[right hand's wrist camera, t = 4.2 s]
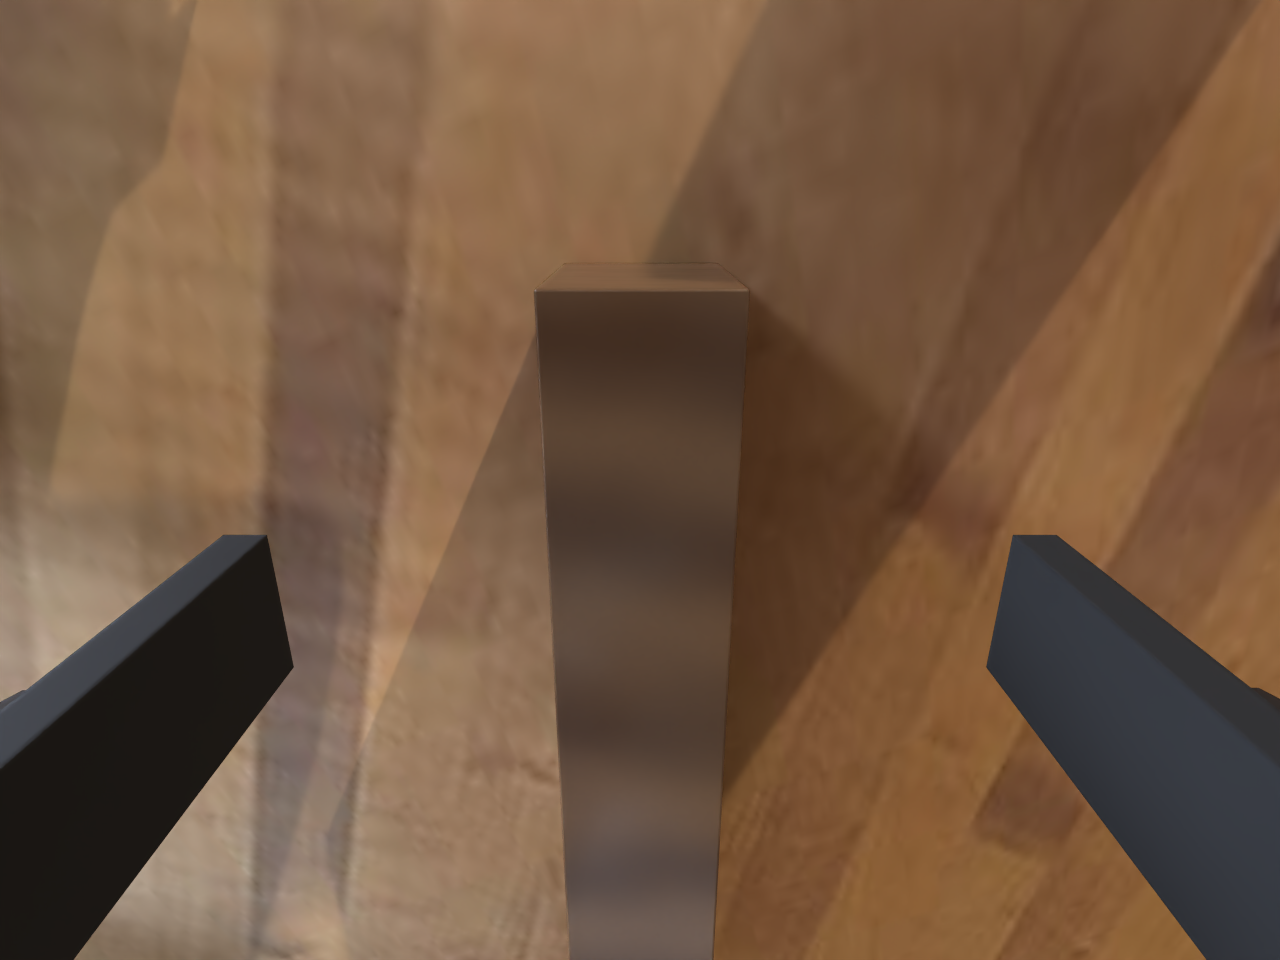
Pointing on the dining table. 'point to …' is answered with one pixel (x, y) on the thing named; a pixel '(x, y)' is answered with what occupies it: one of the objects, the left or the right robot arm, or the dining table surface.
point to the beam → (641, 589)
